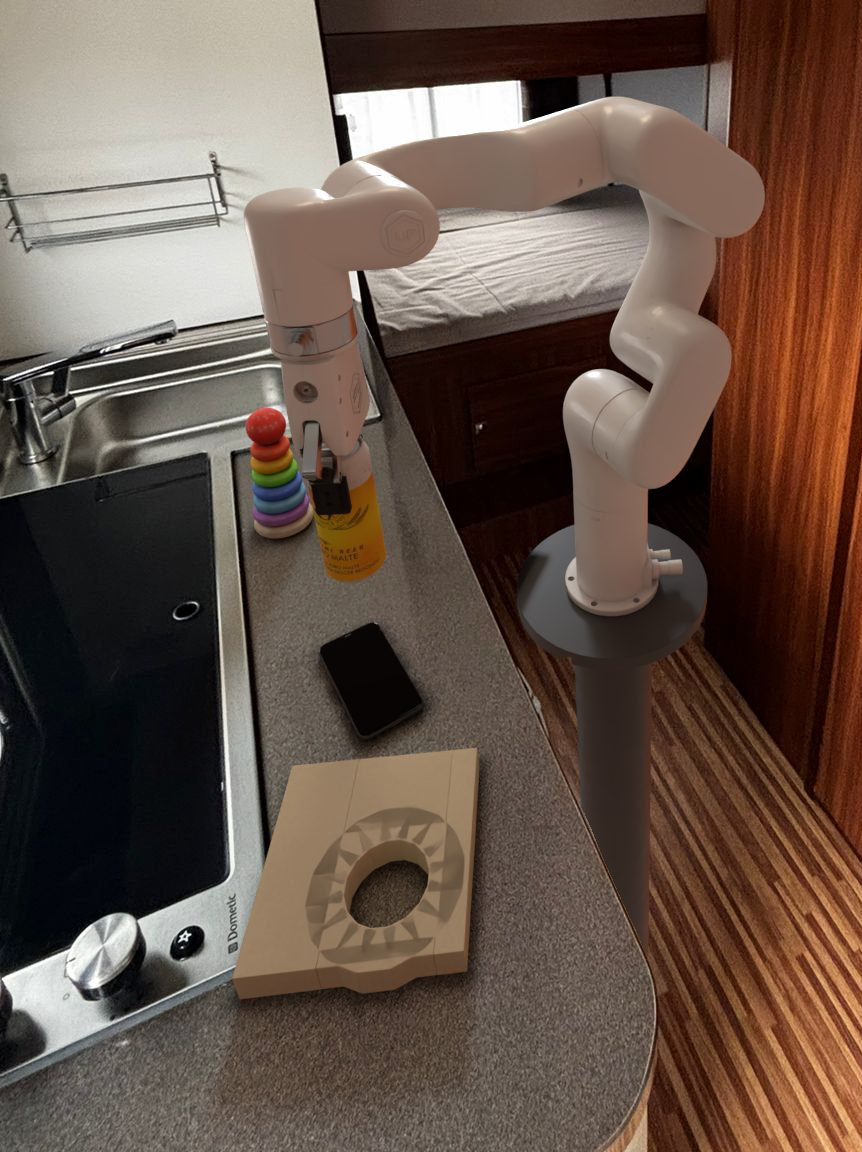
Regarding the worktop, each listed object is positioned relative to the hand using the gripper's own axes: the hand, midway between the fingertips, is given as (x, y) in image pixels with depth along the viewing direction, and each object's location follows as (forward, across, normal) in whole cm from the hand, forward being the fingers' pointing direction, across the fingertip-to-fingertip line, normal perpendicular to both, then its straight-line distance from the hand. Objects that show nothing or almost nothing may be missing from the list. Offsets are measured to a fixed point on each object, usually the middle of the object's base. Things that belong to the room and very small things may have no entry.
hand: (343, 488), depth 80 cm
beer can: (+10, 0, 0) cm, 10 cm away
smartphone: (+28, +1, +1) cm, 28 cm away
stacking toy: (+28, +29, +19) cm, 45 cm away
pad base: (+27, -20, -3) cm, 34 cm away
